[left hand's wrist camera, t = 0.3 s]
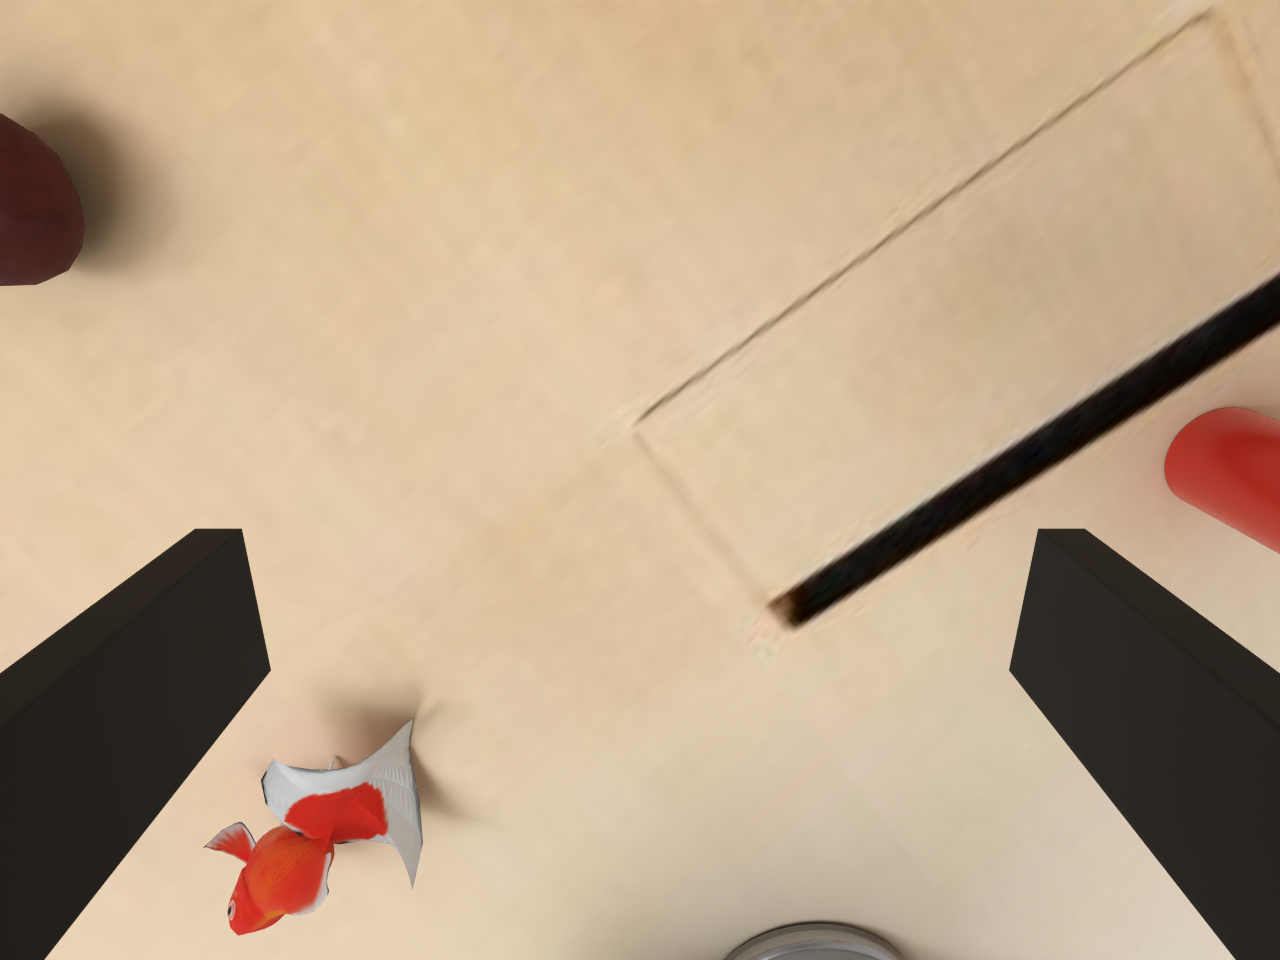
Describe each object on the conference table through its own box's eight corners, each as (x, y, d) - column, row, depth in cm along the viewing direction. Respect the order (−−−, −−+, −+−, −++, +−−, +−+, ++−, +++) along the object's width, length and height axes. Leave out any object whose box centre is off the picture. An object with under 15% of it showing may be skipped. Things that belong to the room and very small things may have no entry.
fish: (125, 815, 43) (124, 966, 35) (354, 635, 46) (399, 737, 39) (255, 885, 49) (279, 1025, 42) (448, 722, 53) (502, 824, 45)
